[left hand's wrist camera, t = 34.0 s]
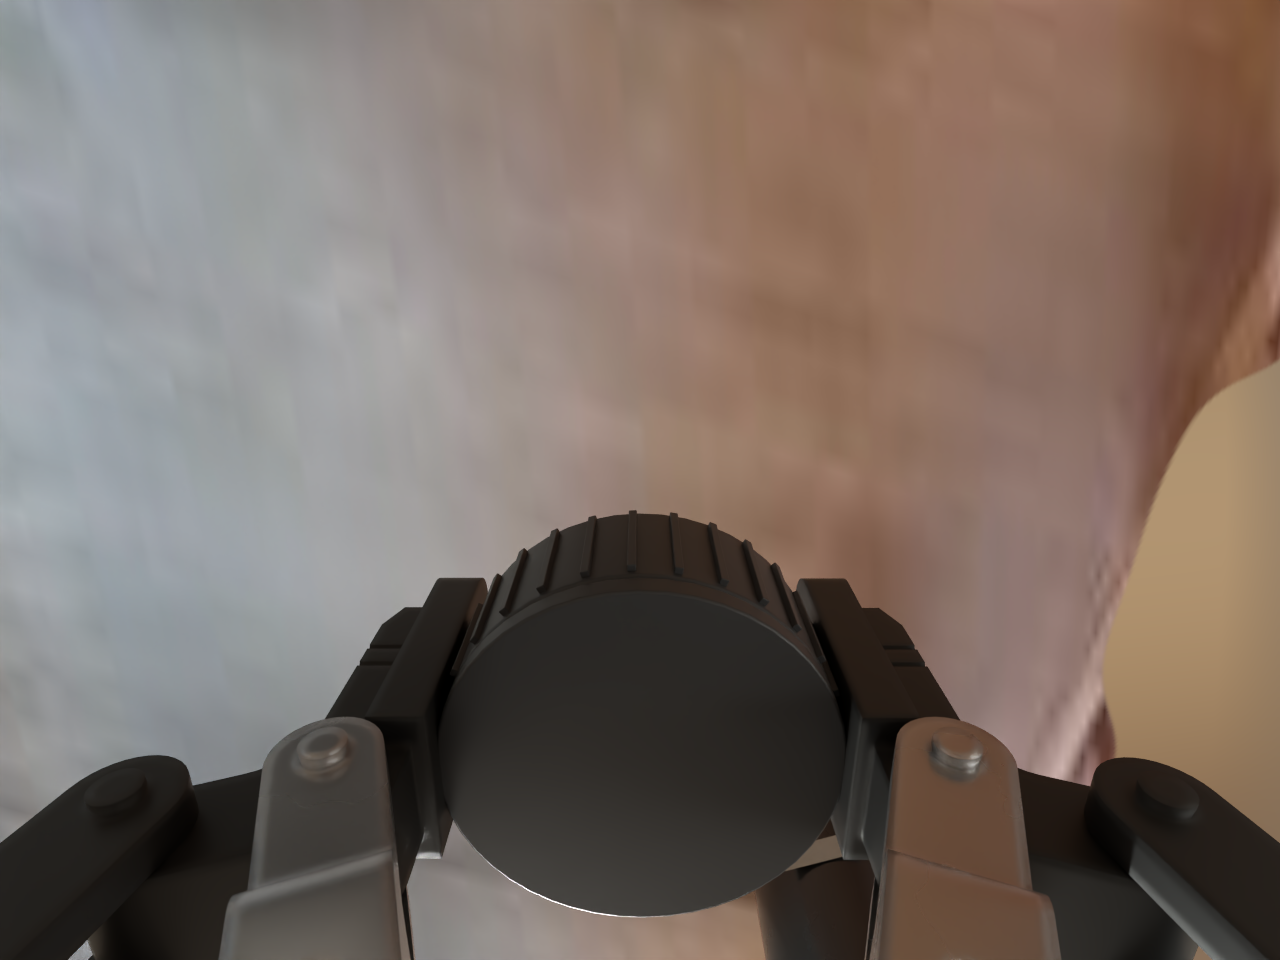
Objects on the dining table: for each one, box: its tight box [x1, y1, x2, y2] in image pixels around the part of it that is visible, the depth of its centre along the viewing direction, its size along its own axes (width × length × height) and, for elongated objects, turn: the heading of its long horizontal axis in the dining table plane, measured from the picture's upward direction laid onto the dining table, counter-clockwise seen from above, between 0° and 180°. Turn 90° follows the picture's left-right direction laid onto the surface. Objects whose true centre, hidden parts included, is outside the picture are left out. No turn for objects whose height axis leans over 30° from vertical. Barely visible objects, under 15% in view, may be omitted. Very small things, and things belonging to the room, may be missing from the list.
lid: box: [437, 510, 846, 917], centre depth 10 cm, size 5×5×2 cm
